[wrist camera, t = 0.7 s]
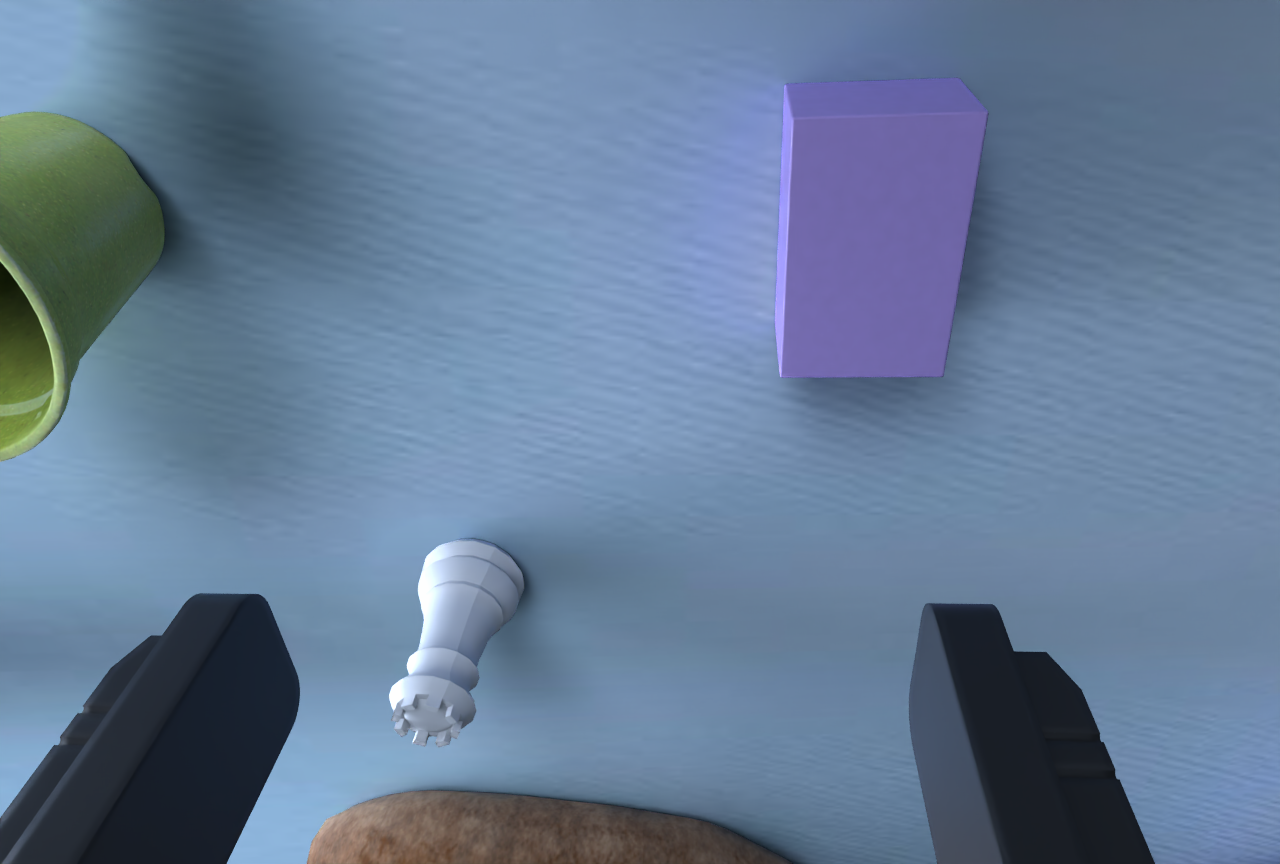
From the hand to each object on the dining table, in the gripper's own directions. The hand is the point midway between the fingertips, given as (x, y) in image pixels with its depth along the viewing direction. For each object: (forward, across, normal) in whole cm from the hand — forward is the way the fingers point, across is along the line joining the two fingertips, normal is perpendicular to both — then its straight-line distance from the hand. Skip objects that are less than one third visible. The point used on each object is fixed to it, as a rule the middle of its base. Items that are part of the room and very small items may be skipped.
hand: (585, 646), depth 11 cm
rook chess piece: (+21, +9, +18) cm, 29 cm away
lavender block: (+20, -6, +2) cm, 21 cm away
